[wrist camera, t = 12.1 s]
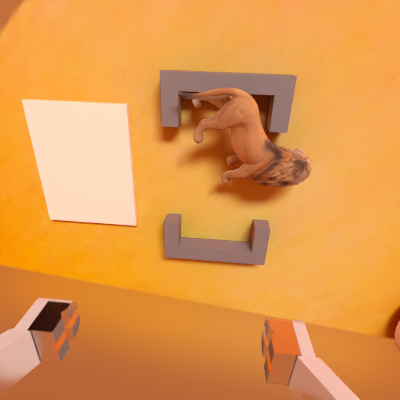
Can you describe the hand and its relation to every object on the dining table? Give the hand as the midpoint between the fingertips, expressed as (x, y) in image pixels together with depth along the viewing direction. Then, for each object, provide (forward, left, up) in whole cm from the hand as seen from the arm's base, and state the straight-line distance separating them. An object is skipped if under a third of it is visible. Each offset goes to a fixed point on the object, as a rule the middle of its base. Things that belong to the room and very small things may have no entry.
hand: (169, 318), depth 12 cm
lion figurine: (-1, -3, -17) cm, 17 cm away
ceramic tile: (+12, 0, -18) cm, 22 cm away
